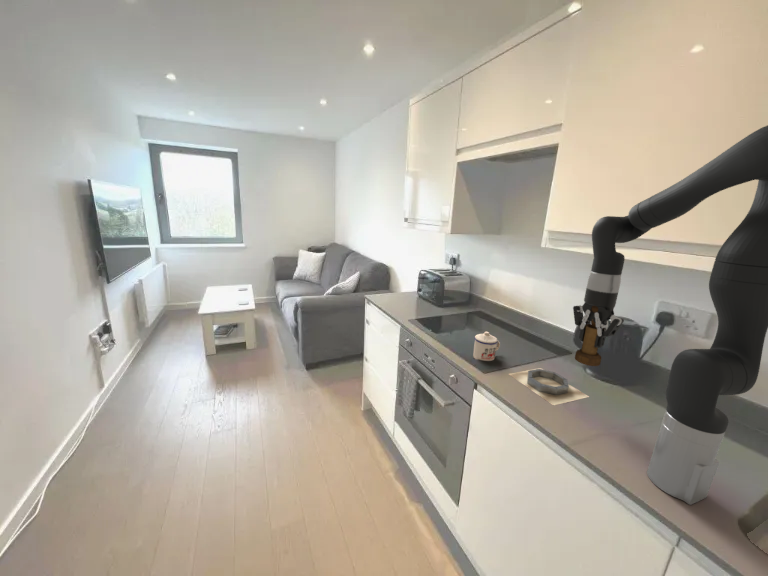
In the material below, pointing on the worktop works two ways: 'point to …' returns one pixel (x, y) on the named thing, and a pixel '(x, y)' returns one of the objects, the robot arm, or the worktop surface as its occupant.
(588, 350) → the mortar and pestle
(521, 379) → the beech board
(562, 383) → the steel collar
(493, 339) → the teacup with lid
